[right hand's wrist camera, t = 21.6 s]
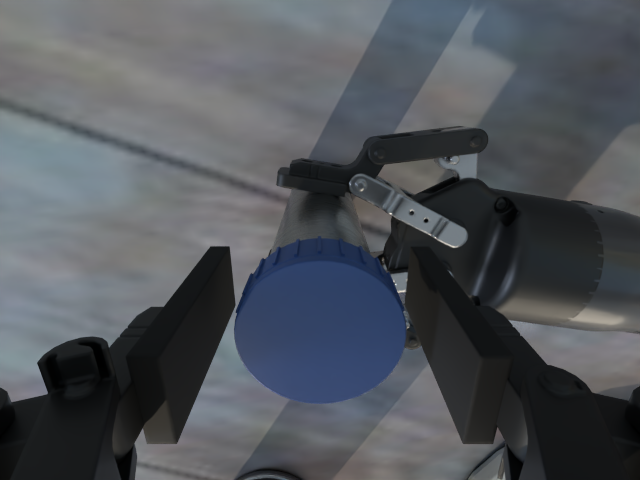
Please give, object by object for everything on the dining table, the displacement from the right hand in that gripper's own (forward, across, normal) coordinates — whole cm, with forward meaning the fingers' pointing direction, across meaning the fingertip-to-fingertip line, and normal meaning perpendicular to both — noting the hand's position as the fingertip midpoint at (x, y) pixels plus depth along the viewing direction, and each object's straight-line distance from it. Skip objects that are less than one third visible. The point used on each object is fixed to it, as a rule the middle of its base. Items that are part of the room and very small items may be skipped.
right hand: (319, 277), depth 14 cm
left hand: (+6, -3, 0) cm, 7 cm away
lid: (-4, 0, 0) cm, 4 cm away
